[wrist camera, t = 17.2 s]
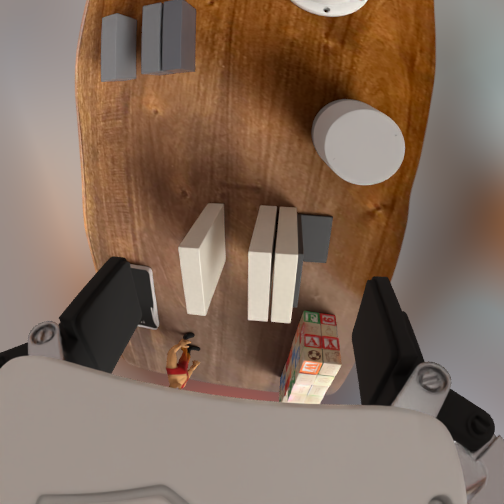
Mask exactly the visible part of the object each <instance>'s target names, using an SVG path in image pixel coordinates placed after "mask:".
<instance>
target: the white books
mask: <svg viewBox="0 0 504 504" xmlns="http://www.w3.org/2000/svg"><path fill="white" fill-rule="evenodd" d="M276 217H277V206H265V205H260V208H259V212H258V216H257V220H256V224H255V228H254V231H253V235H252V239H251V243H250V247H249V251H248V320H255V321H268V313H269V304H270V295H271V286H272V277H273V268H274V280H273V295H272V310H271V322H281V323H290V322H291V315H292V306H293V307H297V305H298V297H299V290H300V282H301V274H302V265H303V261H304V262H319V263H326V260H327V254H328V248H329V241H330V234H331V227H332V219H333V217H332V216H320V215H307V214H297V208H295V207H280V209H279V220H278V230H277V240H276V250H275V236H276ZM274 254H275V264H274Z"/></svg>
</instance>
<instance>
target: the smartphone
mask: <svg viewBox="0 0 504 504" xmlns="http://www.w3.org/2000/svg"><path fill="white" fill-rule="evenodd" d="M130 266H131V271H132V275H133V279H134V284H135V288H136V292H137V296H138V300H139V303H140V307H141V311H142V318H141V320H140V322H139V324H138V326H140V327H144V328H149V329H153V330H156V329H157V328H158V326H159V318H158V311H157V305H156V298H155V291H154V283H153V275H152V270H151V268H150V267H147V266H141V265H134V264H130Z"/></svg>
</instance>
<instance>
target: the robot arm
mask: <svg viewBox="0 0 504 504" xmlns="http://www.w3.org/2000/svg"><path fill="white" fill-rule="evenodd" d="M291 1H292V2H293V3H294V4H295V5H297V6H298V7H300V8H302V9H303V10H306V11H308V12H310V13H314V14H317V15H322V16H343V15H347V14H350V13H353V12H355V11H356V10H358V9H360V8H361V7H362V6H363V5H364V4H365V3H366V1H367V0H362V1H360V0H291ZM324 10H327V11H328V12H324ZM141 318H142V311H141V307H140V303H139V300H138V296H137V292H136V288H135V284H134V279H133V275H132V271H131V266H130V263H129V262H127V260H126V259H125V258H122V257H111V258H110V259H109V260H108V261H107V262H106V263H105V264H104V265H103V266H102V268H101V269H100V270H99V271H98V272H97V273H96V274H95V275H94V277H93V278H92V279H91V280H90V281H89V282H88V283H87V285H86V286H85V287H84V288H83V289H82V290H81V292H80V293H79V294H78V295H77V296H76V297H75V299H74V300H73V301H72V302H71V304H70V305H69V306H68V307H67V308H66V310H65V311H64V312H63V313H62V315H61V316H60V317H59V319H60V324H59V325H58V324H57V323H55V322H52V321H46V322H42V323H40V324H38V325H36V326H35V327H34V328H33V329H32V330H31V332H30V333H29V336H28V343H25V344H22V345H20V346H18V347H14V348H12V349H9V350H7V351H4V352H1V353H0V504H504V439H503V438H502V437H501V436H500V435H499V436H498V437H496V436H495V434H494V431H495V426H494V422H493V419H492V418H491V417H490V415H489V414H488V413H486V411H484V410H482V409H481V408H479V407H478V406H476V405H475V404H473V403H472V402H470V401H468V400H467V399H465V398H464V397H462V396H461V395H459V394H457V393H456V392H454V391H453V390H451V389H450V387H451V377H450V375H449V373H448V372H447V370H446V369H445V368H444V367H442V366H441V365H439V364H437V363H434V362H424V359H423V356H422V354H421V351H420V348H419V345H418V343H417V340H416V337H415V334H414V332H413V329H412V326H411V324H410V321H409V319H408V316H407V314H406V313H405V312H404V311H402V310H401V308H400V305H399V303H398V300H397V298H396V295H395V293H394V290H393V288H392V286H391V283H390V281H389V279H388V278H387V277H375V276H374V277H373V278H372V280H368V281H367V283H366V287H365V291H364V294H363V298H362V301H361V305H360V309H359V312H358V315H357V319H356V322H355V325H354V329H353V332H352V343H353V349H354V355H355V361H356V368H357V374H358V381H359V389H360V396H361V404H362V405H330V404H329V405H328V404H304V403H286V402H272V401H261V400H251V399H242V398H233V397H226V396H218V395H211V394H204V393H199V392H193V391H187V390H181V389H176V388H171V387H165V386H160V385H156V384H151V383H147V382H142V381H138V380H133V379H130V378H125V377H122V376H118V375H114V374H111V373H112V371H113V369H114V368H115V366H116V364H117V362H118V360H119V358H120V356H121V355H122V353H123V351H124V349H125V347H126V345H127V344H128V342H129V340H130V338H131V336H132V335H133V333H134V331H135V329H136V328H137V326H138V324H139V322H140V320H141Z"/></svg>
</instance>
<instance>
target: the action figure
mask: <svg viewBox="0 0 504 504" xmlns="http://www.w3.org/2000/svg"><path fill="white" fill-rule="evenodd" d="M192 337H194V334H193V333H188V334H186V335H184V337H183V339H181V340H180V342H179V344H177V345H175V346H173V347H172V348H171V349H170V350H169V352H168V354H167V355H168V357H167V366H166V370H167V374H168V379H169V383H170V386H169V387H171V388H176V389H181V388H183V387H184V386H185V385H186V382H187V381H188V379H189V377H190V376H191V374H192V371H193V370H194V369H195V368H196V367H197V366H198V365H199V363H200V362H198V361H195V360H194V361H193V365H192V366H191V367H190V369H189V370H187V368H188V363H189V360H190V351H191V350H197V351H199V350H200V348H198V347H192V346H190V345H188V346H186V345H187V344H189V343H191V341H190V342H189V340H187V339H189V338H192ZM180 347H181V350H183V354H182V356H181V358H180V359H179V363H177V357H176V352H177V350H178V349H179V348H180ZM197 363H198V364H197Z"/></svg>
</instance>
